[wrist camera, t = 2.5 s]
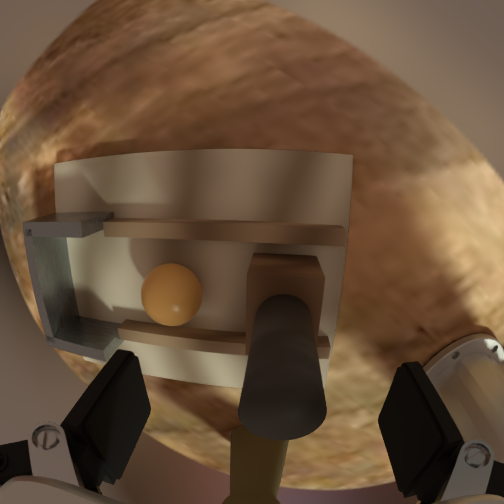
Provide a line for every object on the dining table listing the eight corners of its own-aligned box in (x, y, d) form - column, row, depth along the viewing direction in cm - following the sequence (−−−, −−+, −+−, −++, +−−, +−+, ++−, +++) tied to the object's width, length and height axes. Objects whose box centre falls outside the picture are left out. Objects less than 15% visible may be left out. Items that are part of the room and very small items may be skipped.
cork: (221, 426, 26) (198, 516, 15) (278, 417, 25) (273, 515, 14) (243, 457, 27) (230, 537, 17) (295, 449, 26) (295, 534, 16)
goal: (113, 211, 19) (81, 221, 15) (128, 334, 22) (105, 362, 18) (55, 212, 20) (22, 222, 16) (74, 324, 22) (48, 345, 19)
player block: (316, 255, 19) (355, 359, 8) (309, 324, 20) (326, 454, 9) (253, 252, 19) (220, 354, 8) (251, 322, 20) (226, 450, 10)
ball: (208, 257, 19) (191, 278, 16) (209, 311, 20) (195, 341, 17) (152, 254, 20) (126, 273, 16) (157, 306, 21) (135, 333, 17)
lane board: (347, 156, 18) (359, 153, 15) (321, 379, 23) (325, 403, 20) (65, 163, 20) (41, 164, 17) (91, 351, 25) (76, 368, 22)
